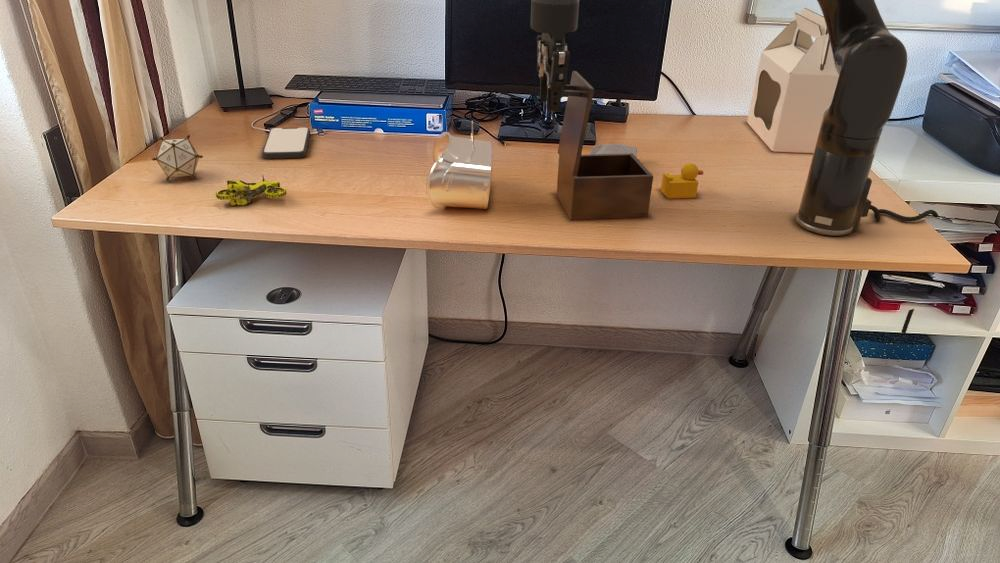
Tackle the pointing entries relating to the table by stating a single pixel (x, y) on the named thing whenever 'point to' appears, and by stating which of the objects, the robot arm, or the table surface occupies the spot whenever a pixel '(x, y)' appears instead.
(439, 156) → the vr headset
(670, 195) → the toy duck
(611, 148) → the stone block
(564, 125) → the chest lid
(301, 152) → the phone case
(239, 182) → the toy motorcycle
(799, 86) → the gable box
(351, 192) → the table surface
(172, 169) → the game die
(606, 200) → the toy chest
